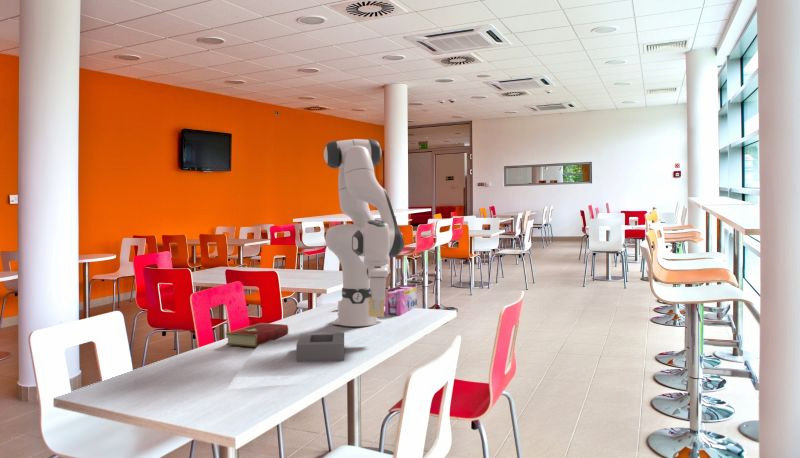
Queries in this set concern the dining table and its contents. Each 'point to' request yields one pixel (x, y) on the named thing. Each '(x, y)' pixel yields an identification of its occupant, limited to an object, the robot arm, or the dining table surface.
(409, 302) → the gum box
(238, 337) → the hardcover book
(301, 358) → the well
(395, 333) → the dining table surface
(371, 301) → the tan block
